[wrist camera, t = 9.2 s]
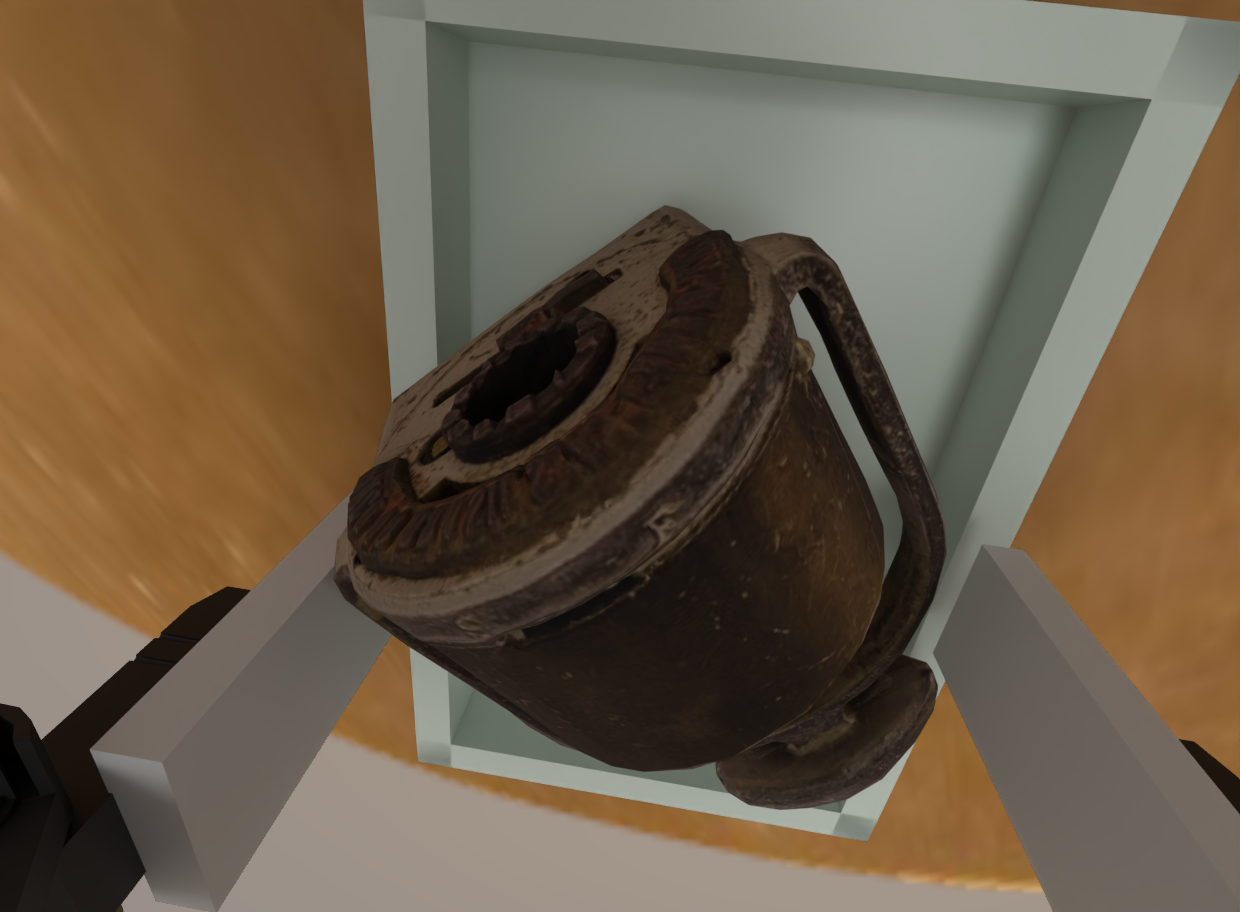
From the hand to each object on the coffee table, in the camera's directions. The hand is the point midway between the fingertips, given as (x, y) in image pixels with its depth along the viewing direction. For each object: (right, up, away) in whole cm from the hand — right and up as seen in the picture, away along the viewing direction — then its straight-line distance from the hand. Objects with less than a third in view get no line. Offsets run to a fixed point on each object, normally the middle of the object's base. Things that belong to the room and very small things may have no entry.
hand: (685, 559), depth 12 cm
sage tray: (+1, +2, +4) cm, 4 cm away
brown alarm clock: (0, +1, +1) cm, 2 cm away
